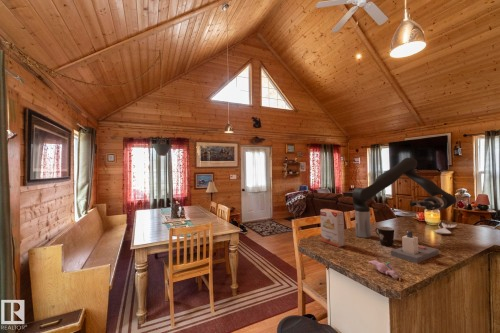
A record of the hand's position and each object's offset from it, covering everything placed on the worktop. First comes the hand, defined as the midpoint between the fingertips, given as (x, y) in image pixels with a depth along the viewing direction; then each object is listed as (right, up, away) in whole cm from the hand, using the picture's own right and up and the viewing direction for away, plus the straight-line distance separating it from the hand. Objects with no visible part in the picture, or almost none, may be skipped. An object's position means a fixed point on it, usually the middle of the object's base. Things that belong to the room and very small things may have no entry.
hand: (419, 205), depth 125 cm
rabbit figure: (-37, -25, -28) cm, 53 cm away
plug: (-13, -25, -11) cm, 30 cm away
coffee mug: (-13, -26, +9) cm, 30 cm away
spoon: (+44, -25, +33) cm, 61 cm away
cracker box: (-44, -27, +14) cm, 53 cm away
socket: (-9, -25, -9) cm, 28 cm away
